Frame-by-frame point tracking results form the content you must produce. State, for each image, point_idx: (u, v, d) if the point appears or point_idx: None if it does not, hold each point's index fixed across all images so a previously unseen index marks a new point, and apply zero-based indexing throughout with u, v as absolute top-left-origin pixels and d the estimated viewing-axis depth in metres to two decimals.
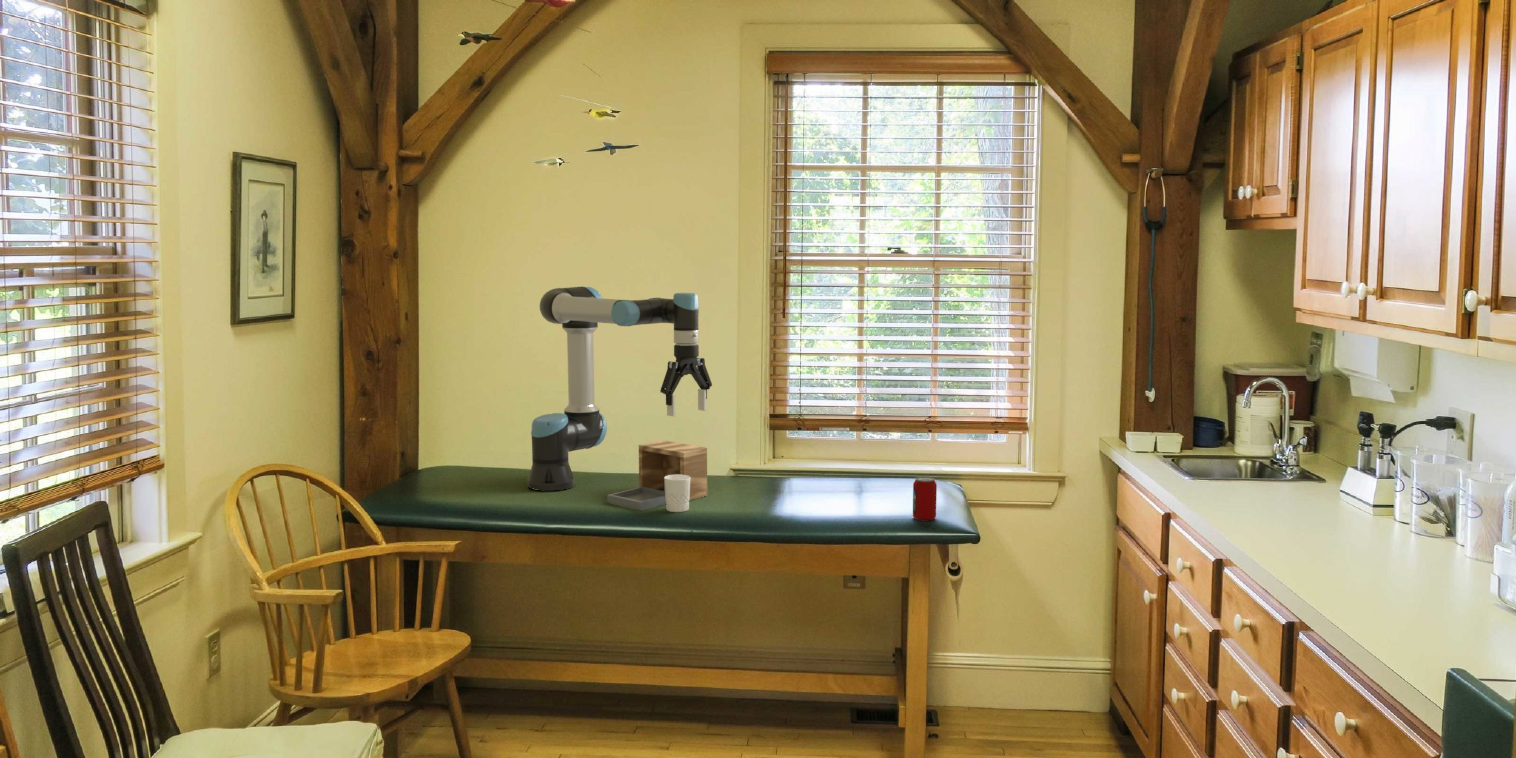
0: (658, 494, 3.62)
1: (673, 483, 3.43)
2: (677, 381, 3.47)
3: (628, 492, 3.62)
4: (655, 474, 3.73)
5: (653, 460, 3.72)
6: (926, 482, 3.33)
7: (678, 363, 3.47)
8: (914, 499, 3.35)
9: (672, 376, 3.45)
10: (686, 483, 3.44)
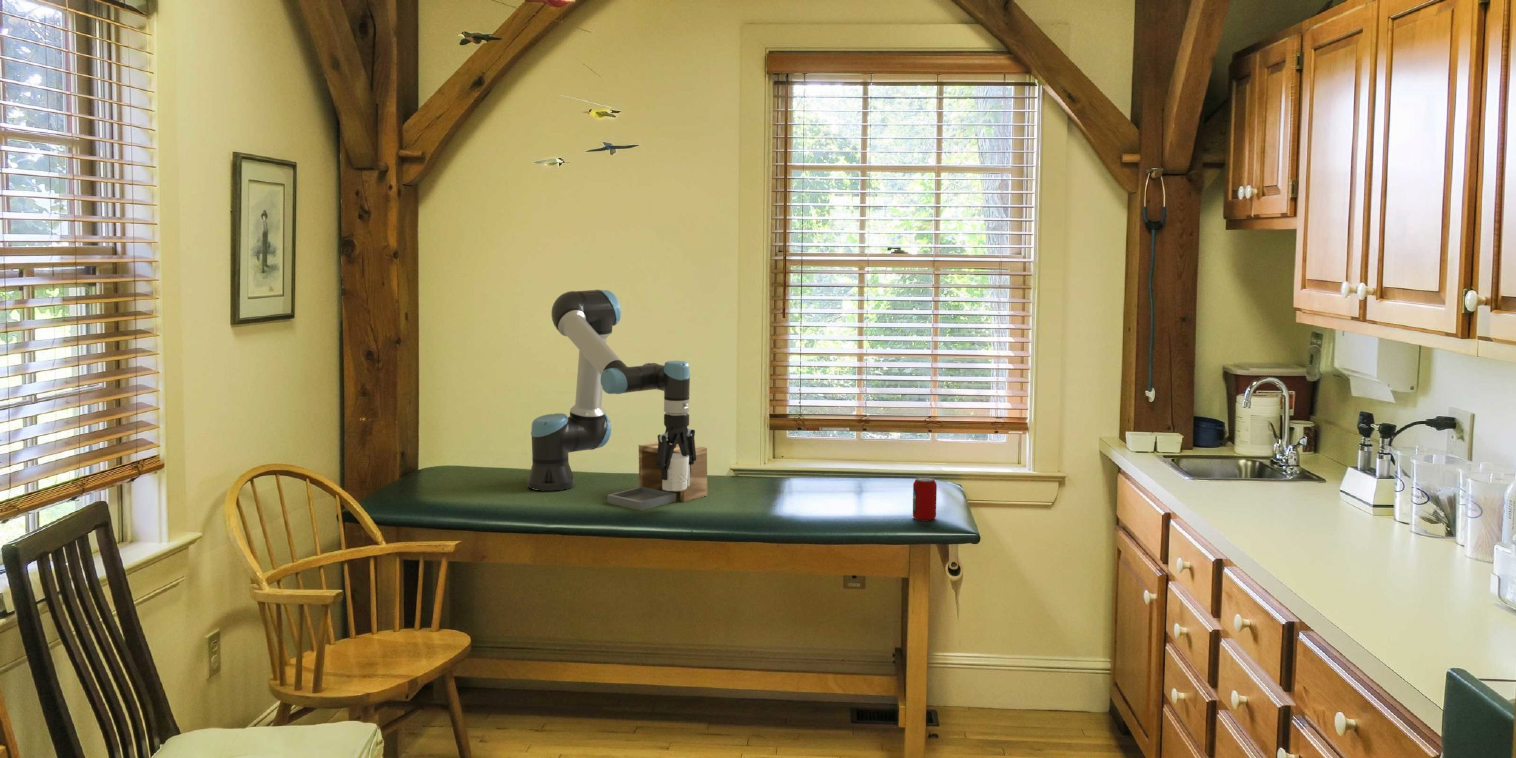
0: (658, 494, 3.62)
1: (672, 462, 3.43)
2: (670, 454, 3.42)
3: (628, 492, 3.62)
4: (655, 474, 3.73)
5: (653, 460, 3.72)
6: (926, 482, 3.33)
7: (668, 434, 3.41)
8: (914, 499, 3.35)
9: (664, 450, 3.40)
10: (684, 462, 3.44)
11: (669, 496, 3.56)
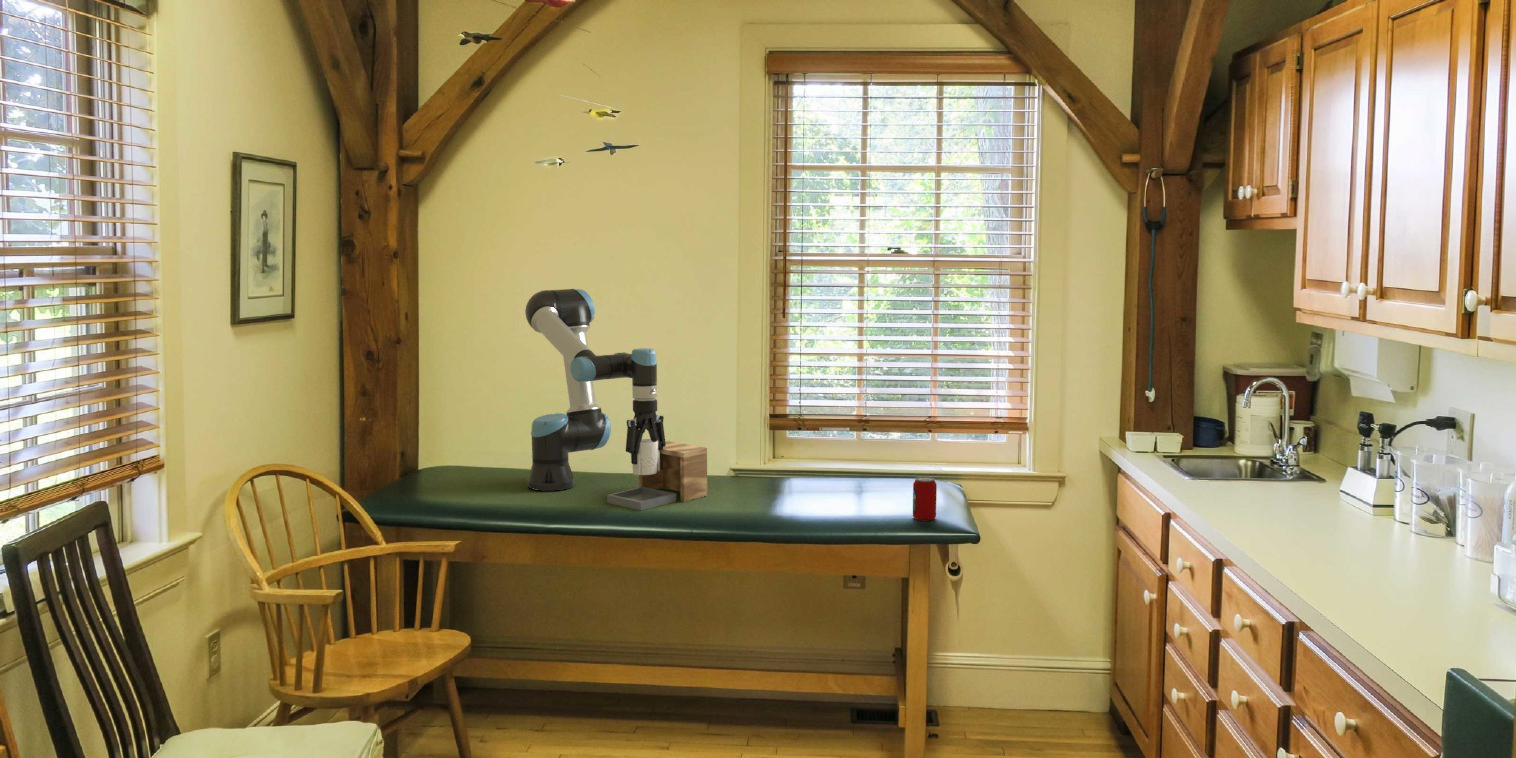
0: (658, 494, 3.62)
1: (641, 446, 3.52)
2: (639, 439, 3.52)
3: (628, 492, 3.62)
4: (655, 474, 3.73)
5: None
6: (926, 482, 3.33)
7: (636, 419, 3.51)
8: (914, 499, 3.35)
9: (633, 435, 3.50)
10: (654, 446, 3.53)
11: (669, 496, 3.56)
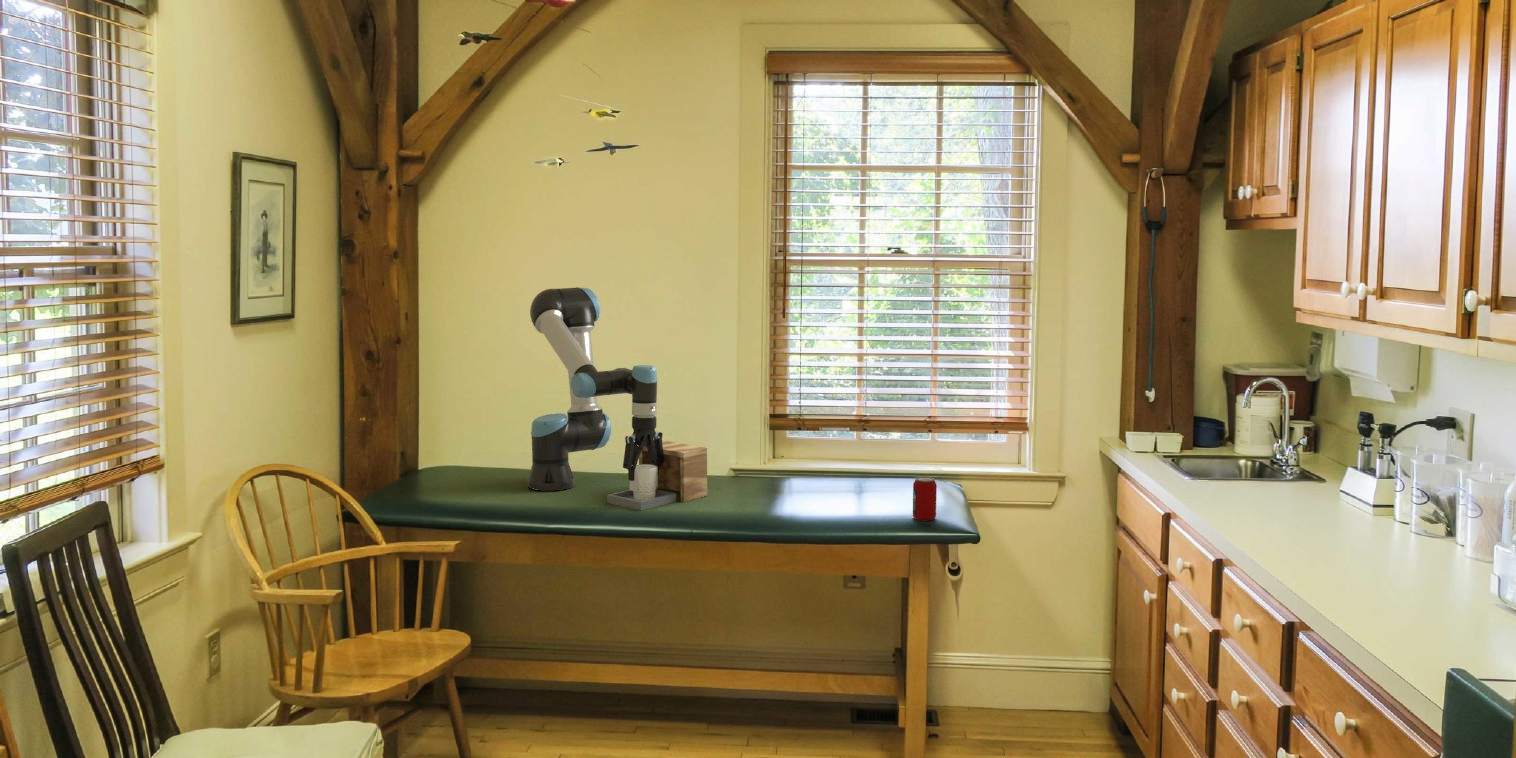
0: (658, 494, 3.62)
1: (639, 472, 3.53)
2: (637, 455, 3.52)
3: (628, 492, 3.62)
4: None
5: None
6: (926, 482, 3.33)
7: (635, 436, 3.52)
8: (913, 499, 3.35)
9: (631, 451, 3.50)
10: (652, 473, 3.54)
11: (669, 496, 3.56)
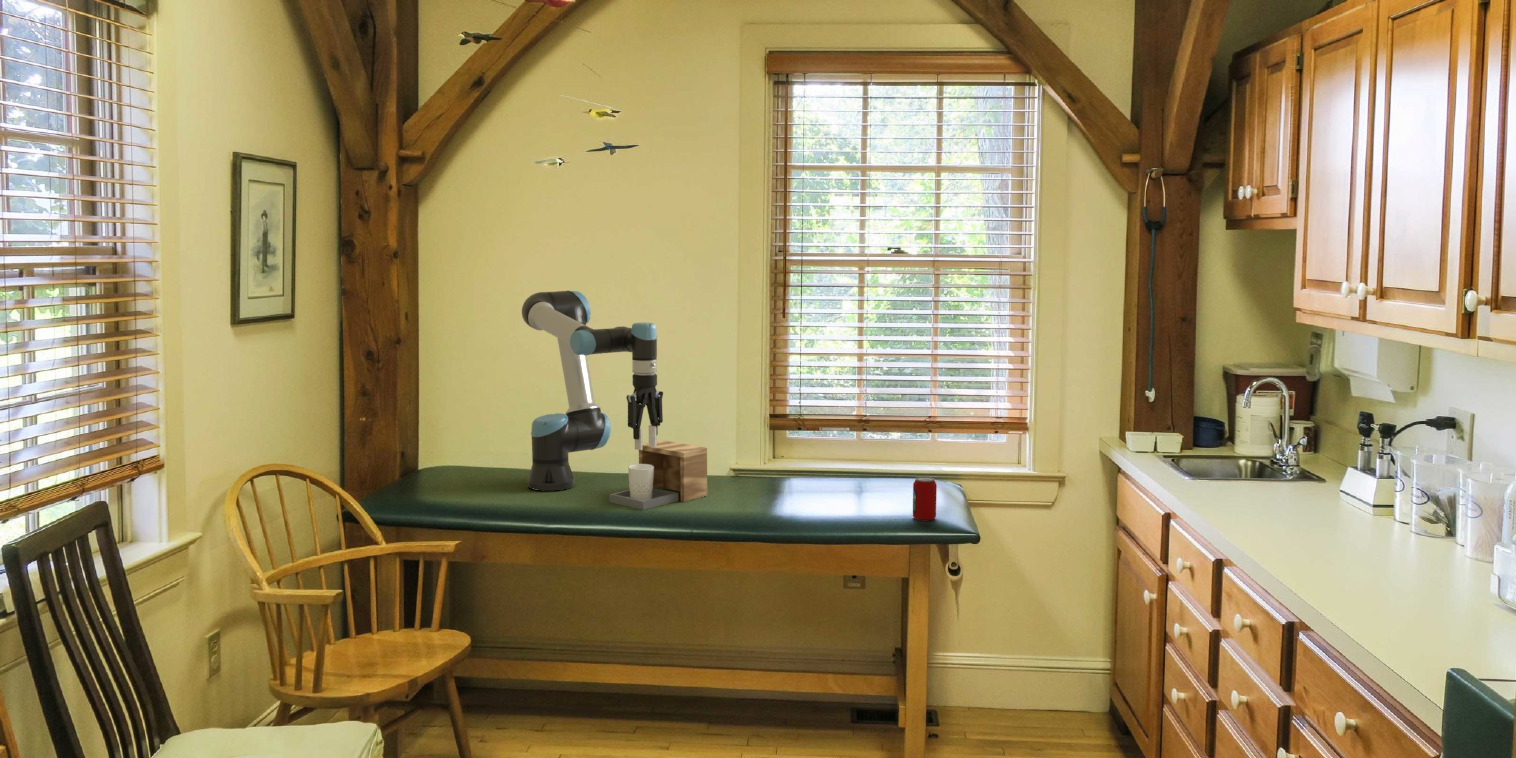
0: (660, 493, 3.62)
1: (638, 472, 3.53)
2: (640, 413, 3.52)
3: None
4: (655, 474, 3.73)
5: (653, 460, 3.72)
6: (926, 482, 3.33)
7: (636, 394, 3.51)
8: (913, 499, 3.35)
9: (634, 410, 3.50)
10: (650, 472, 3.54)
11: (671, 495, 3.56)
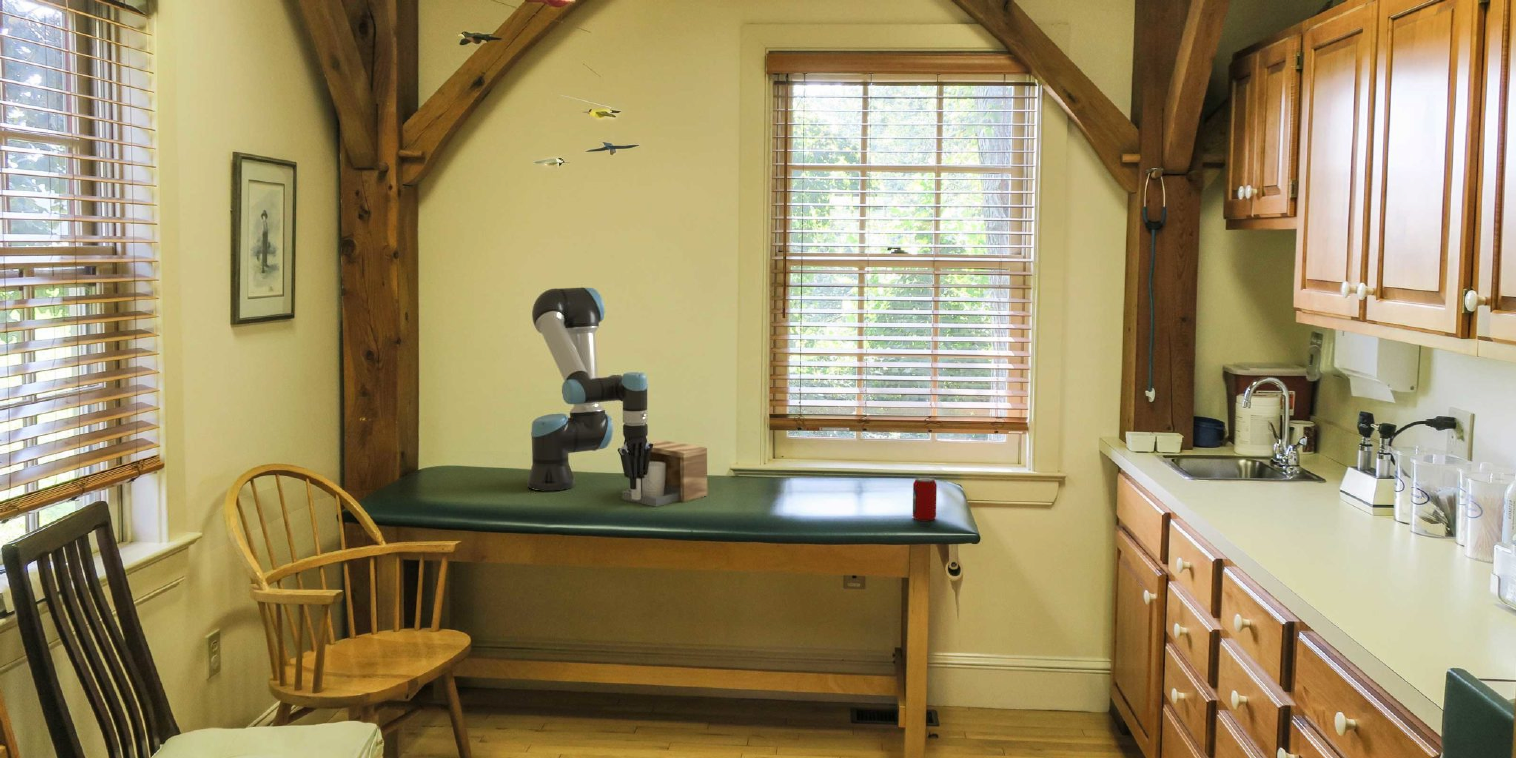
0: (672, 490, 3.66)
1: (650, 469, 3.57)
2: (635, 464, 3.52)
3: None
4: None
5: (653, 460, 3.72)
6: (926, 482, 3.33)
7: (627, 445, 3.50)
8: (914, 499, 3.35)
9: (628, 461, 3.50)
10: (662, 469, 3.58)
11: None
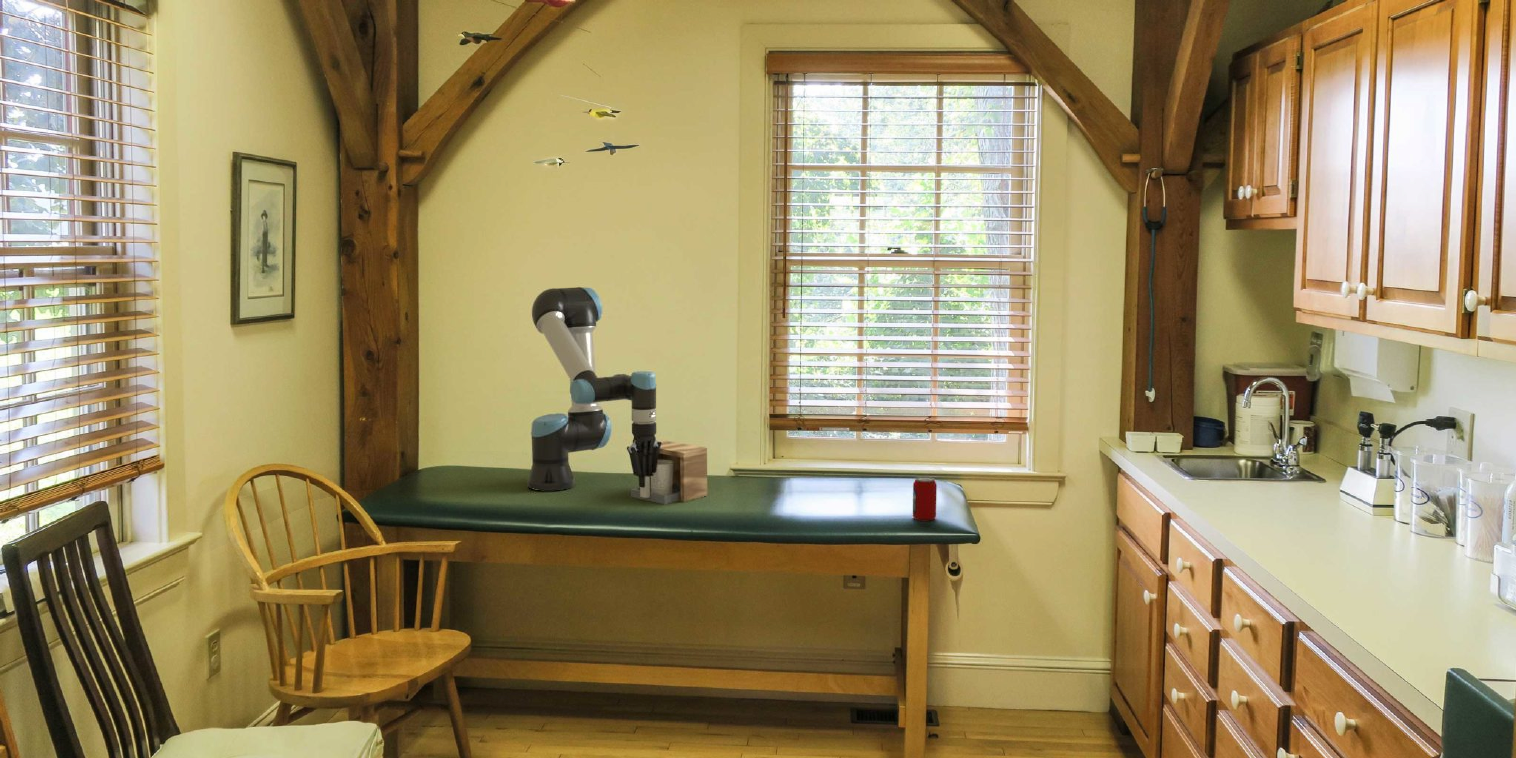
0: (680, 488, 3.69)
1: (658, 467, 3.60)
2: (643, 462, 3.55)
3: None
4: None
5: None
6: (926, 482, 3.33)
7: (636, 444, 3.52)
8: (914, 499, 3.35)
9: (637, 459, 3.53)
10: (670, 467, 3.61)
11: None
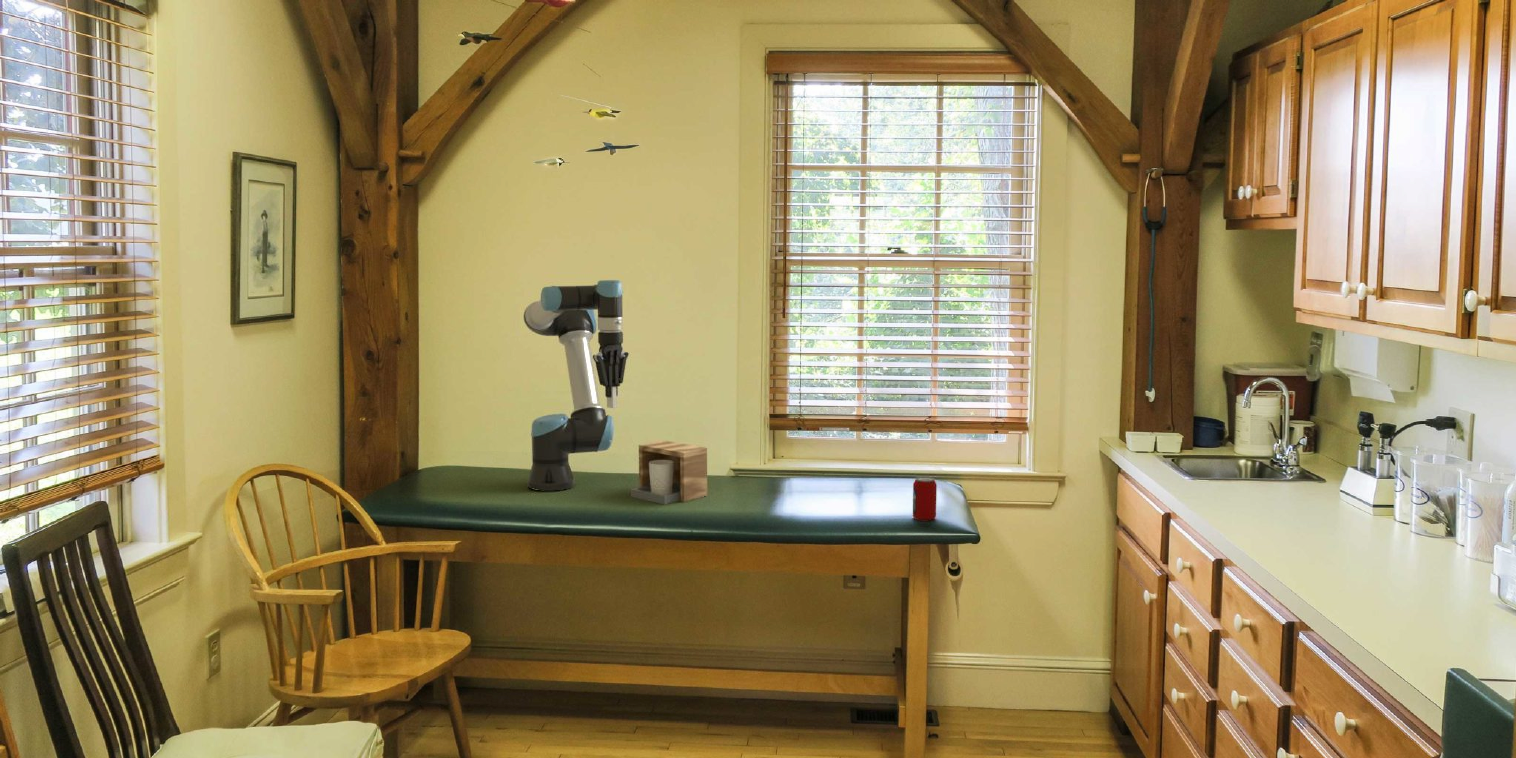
0: (680, 488, 3.69)
1: (658, 468, 3.60)
2: (610, 371, 3.52)
3: None
4: None
5: None
6: (926, 482, 3.33)
7: (602, 352, 3.49)
8: (914, 499, 3.35)
9: (603, 368, 3.50)
10: (670, 467, 3.61)
11: None
